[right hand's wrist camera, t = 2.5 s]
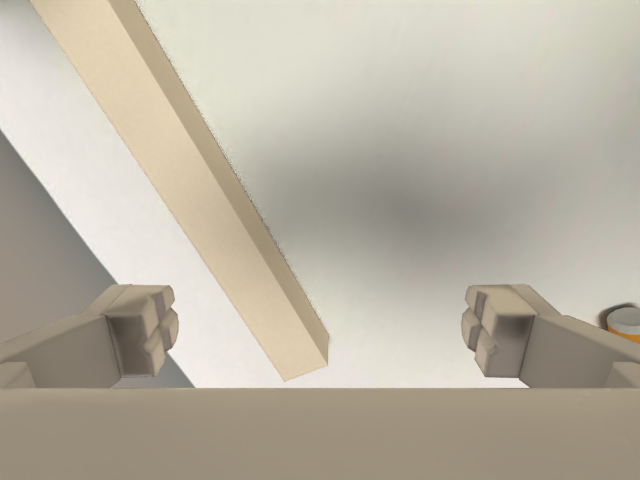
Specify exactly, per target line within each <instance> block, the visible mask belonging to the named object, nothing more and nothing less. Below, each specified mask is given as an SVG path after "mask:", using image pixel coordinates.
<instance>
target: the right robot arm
mask: <svg viewBox="0 0 640 480" xmlns="http://www.w3.org/2000/svg"><path fill="white" fill-rule="evenodd" d="M174 301H175V298H174V293H173V289H172V288H171V287H170V285H132V284H124V285H111V286H110V287H109V288H108V289H107V290H105V291H104V292H103V293H102V294H101V295H100V296H99V297H98V298H97V299H95V300H94V301H93V302H92V303H91V304H90V305H89V306H88V307H87V308H85V309H84V310H83V311H82V312H81V313H80V314H79V315H72V316H69V317H66V318H64V319H61V320H59V321H56V322H54V323H51V324H49V325H46V326H44V327H41V328H39V329H36V330H34V331H31V332H29V333H26V334H23V335H21V336H19V337H16V338H13V339H11V340H8V341H6V342H3V343H1V344H0V480H640V344H639V343H637V342H634V341H631V340H629V339H626V338H624V337H621V336H619V335H616V334H614V333H611V332H609V331H606V330H604V329H601V328H599V327H596V326H594V325H591V324H589V323H586V322H584V321H581V320H579V319H576V318H574V317H571V316H568V315H561V314H560V313H559V312H558V311H557V310H556V309H555V308H554V307H552V306H551V305H550V304H549V303H548V302H547V301H546V300H545V299H544V298H542V297H541V296H540V295H539V294H538V293H537V292H536V291H535V290H534V289H532V288H531V287H530V286H529V285H525V284H518V285H473V286H469V287H468V290H467V292H466V297H465V301H466V302H467V304H468V305H469V308H468V309H467V310H466V311H465V312H464V313H463V315H462V323H461V327H462V336H463V339H464V342H465V344H466V345H467V347H468V348H469V349H470V350H472V351H474V352H475V361H476V363H477V364H478V366H479V368H480V369H481V371H482V373H483V374H484V376H485V377H503V378H519V380H521V381H522V382H523V383H525V384H526V385H527V386H529V387H530V388H110V387H111V386H113V385H114V384H116V383H117V382H118V381H119V380H121V378H136V377H155V376H156V374H157V373H158V371H159V369H160V368H161V366H162V364H163V363H164V361H165V352H166V351H168V350H170V349H171V348H172V347H173V345H174V343H175V342H176V339H177V335H178V323H179V322H178V315H177V313H176V312H175V311H174V310H173V309H172V308H171V305H172V304H173V302H174Z"/></svg>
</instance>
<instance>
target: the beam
mask: <svg viewBox="0 0 640 480" xmlns="http://www.w3.org/2000/svg"><path fill="white" fill-rule="evenodd" d="M29 1H30V3H31V4H32V6H33V7H34V9H35V10H36V12H37V13H38V15H39V16H40V18H41V19H42V21H43V22H44V23H45V25H46V26H47V28H48V29H49V31H50V32H51V34H52V35H53V37H54V38H55V40H56V41H57V43H58V44H59V46H60V47H61V49H62V50H63V52H64V53H65V55H66V56H67V58H68V59H69V61H70V62H71V64H72V65H73V67H74V68H75V70H76V71H77V73H78V74H79V76H80V77H81V79H82V80H83V82H84V83H85V85H86V86H87V88H88V89H89V91H90V92H91V94H92V95H93V97H94V98H95V100H96V101H97V103H98V104H99V106H100V107H101V109H102V110H103V112H104V113H105V115H106V116H107V118H108V119H109V121H110V122H111V124H112V125H113V127H114V128H115V130H116V131H117V133H118V134H119V136H120V137H121V138H122V140H123V141H124V143H125V144H126V146H127V147H128V149H129V150H130V152H131V153H132V155H133V156H134V158H135V159H136V161H137V162H138V164H139V165H140V167H141V168H142V170H143V171H144V173H145V174H146V176H147V177H148V179H149V180H150V182H151V183H152V185H153V186H154V188H155V189H156V191H157V192H158V194H159V195H160V197H161V198H162V200H163V201H164V203H165V204H166V206H167V207H168V209H169V210H170V212H171V213H172V215H173V216H174V218H175V219H176V221H177V222H178V224H179V225H180V227H181V228H182V230H183V231H184V233H185V234H186V236H187V237H188V239H189V240H190V242H191V243H192V245H193V246H194V248H195V249H196V251H197V252H198V253H199V255H200V256H201V258H202V259H203V261H204V262H205V264H206V265H207V267H208V268H209V270H210V271H211V273H212V274H213V276H214V277H215V279H216V280H217V282H218V283H219V285H220V286H221V288H222V289H223V291H224V292H225V294H226V295H227V297H228V298H229V300H230V301H231V303H232V304H233V306H234V307H235V309H236V310H237V312H238V313H239V315H240V316H241V318H242V319H243V321H244V322H245V324H246V325H247V327H248V328H249V330H250V331H251V333H252V334H253V336H254V337H255V339H256V340H257V342H258V343H259V345H260V346H261V348H262V349H263V351H264V352H265V354H266V355H267V357H268V358H269V360H270V361H271V363H272V364H273V366H274V367H275V368H276V370H277V371H278V373H279V374H280V376H281V377H282V379H283V380H284V382H285V381H288V380H290V379H293V378H296V377H298V376H301V375H304V374H306V373H309V372H312V371H314V370H317V369H320V368H322V367H325V366H328V333H327V332H326V330H325V328H324V326H323V325H322V323H321V321H320V320H319V318H318V316H317V314H316V313H315V311H314V309H313V308H312V306H311V304H310V302H309V301H308V299H307V297H306V295H305V294H304V292H303V290H302V289H301V287H300V285H299V283H298V282H297V280H296V278H295V277H294V275H293V273H292V271H291V270H290V268H289V266H288V265H287V263H286V261H285V259H284V258H283V256H282V254H281V252H280V251H279V249H278V247H277V246H276V244H275V242H274V240H273V239H272V237H271V235H270V234H269V232H268V230H267V228H266V227H265V225H264V223H263V222H262V220H261V218H260V216H259V215H258V213H257V211H256V210H255V208H254V206H253V204H252V203H251V201H250V199H249V197H248V196H247V194H246V192H245V191H244V189H243V187H242V185H241V184H240V182H239V180H238V179H237V177H236V175H235V173H234V172H233V170H232V168H231V167H230V165H229V163H228V161H227V160H226V158H225V156H224V155H223V153H222V151H221V149H220V148H219V146H218V144H217V142H216V141H215V139H214V137H213V136H212V134H211V132H210V130H209V129H208V127H207V125H206V124H205V122H204V120H203V118H202V117H201V115H200V113H199V112H198V110H197V108H196V106H195V105H194V103H193V101H192V99H191V98H190V96H189V94H188V93H187V91H186V89H185V87H184V86H183V84H182V82H181V81H180V79H179V77H178V75H177V74H176V72H175V70H174V69H173V67H172V65H171V63H170V62H169V60H168V58H167V57H166V55H165V53H164V51H163V50H162V48H161V46H160V44H159V43H158V41H157V39H156V38H155V36H154V34H153V32H152V31H151V29H150V27H149V26H148V24H147V22H146V20H145V19H144V17H143V15H142V14H141V12H140V10H139V8H138V7H137V5H136V3H135V2H134V0H29Z"/></svg>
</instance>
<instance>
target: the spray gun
mask: <svg viewBox="0 0 640 480" xmlns="http://www.w3.org/2000/svg"><path fill="white" fill-rule="evenodd" d="M607 325H608V331H609V332H611V333H614V334H616V335H619V336H621V337H624V338H626V339H629V340H631V341H634V342H637V343H639V344H640V309H638V308H633V307H625V308H621V309H617V310H615V311H613V312H611V313H610V314H609V315H608V317H607Z"/></svg>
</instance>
